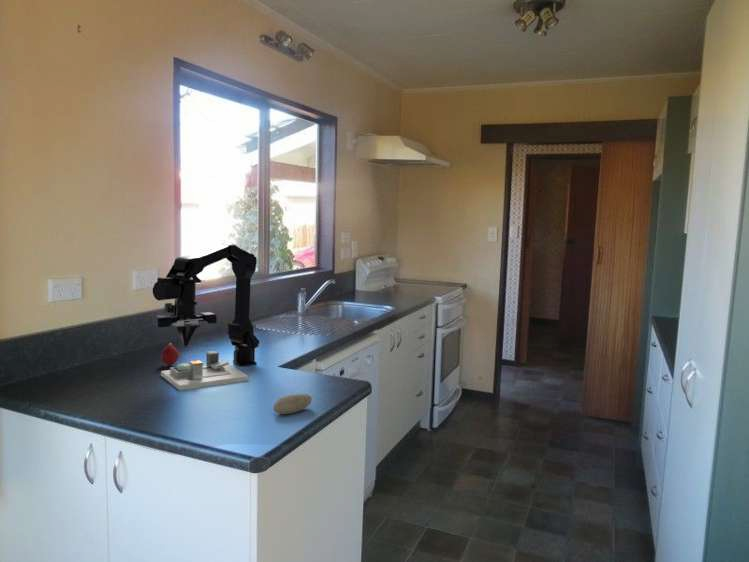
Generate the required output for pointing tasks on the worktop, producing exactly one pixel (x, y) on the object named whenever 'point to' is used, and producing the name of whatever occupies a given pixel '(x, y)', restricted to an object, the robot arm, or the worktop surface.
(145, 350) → the worktop surface
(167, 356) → the onion
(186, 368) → the button green
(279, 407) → the stone
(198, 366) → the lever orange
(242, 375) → the panel
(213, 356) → the slider grey
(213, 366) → the rocker grey
